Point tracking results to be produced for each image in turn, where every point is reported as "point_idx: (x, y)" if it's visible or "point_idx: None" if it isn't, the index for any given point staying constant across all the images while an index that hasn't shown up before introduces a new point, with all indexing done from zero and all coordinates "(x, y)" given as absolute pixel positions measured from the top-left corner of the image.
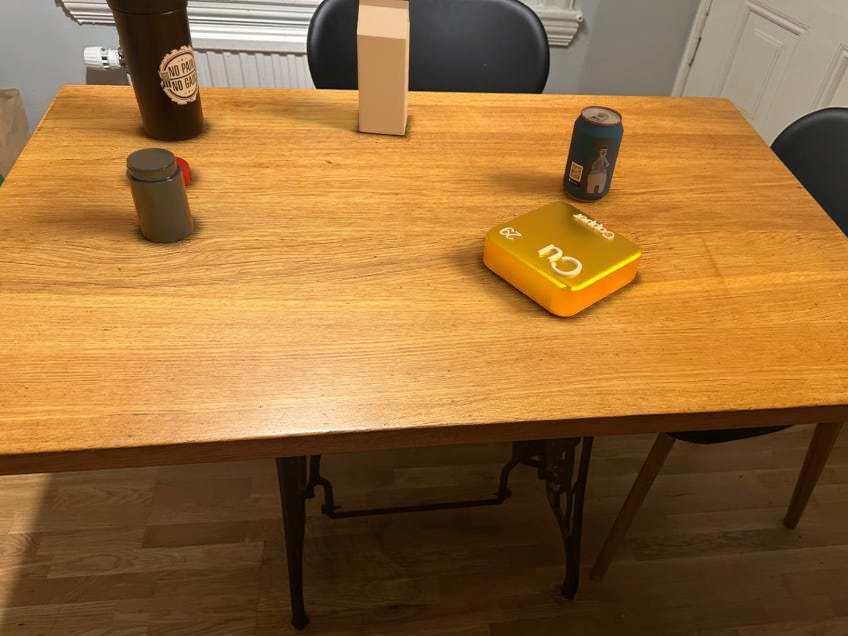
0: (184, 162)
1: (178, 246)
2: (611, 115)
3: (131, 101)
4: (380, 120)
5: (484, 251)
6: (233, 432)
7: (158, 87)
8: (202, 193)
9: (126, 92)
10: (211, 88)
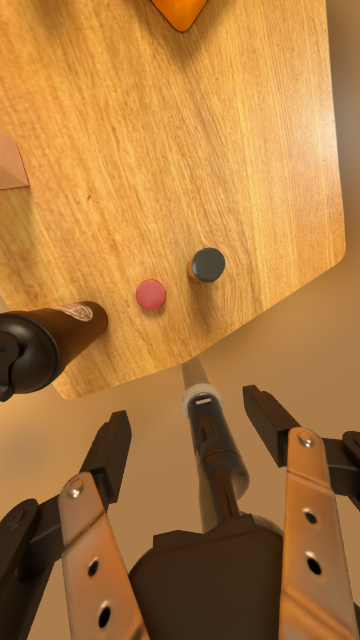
0: (140, 285)
1: None
2: None
3: None
4: (13, 157)
5: (186, 17)
6: (338, 168)
7: (92, 321)
8: (158, 267)
9: None
10: None
